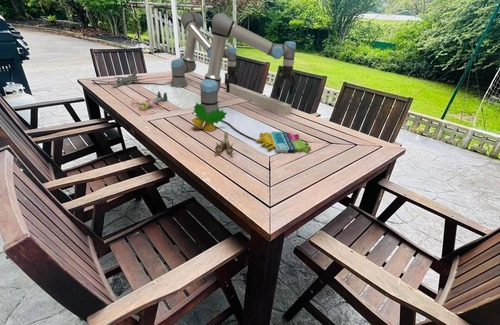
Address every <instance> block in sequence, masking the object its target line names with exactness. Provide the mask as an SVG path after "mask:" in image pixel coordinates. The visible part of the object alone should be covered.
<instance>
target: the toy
mask: <svg viewBox="0 0 500 325" xmlns="http://www.w3.org/2000/svg"><path fill="white" fill-rule="evenodd" d="M167 100H168V94H167V92H166V91H165V92H164V93H163V96H162V94H161V92H160V91H157V97H155V98H148V99H146V100H145V101H142V102H135V101H134V100H132V101H130V103H131V105H139V106H138V107H137V109H140V111H141V110H142V111H145V110H148V108H159V109H161V110H165V108H166V107H165V106H163V104H161V105H157V104H158V103H159V102H160V101H163V102H166V101H167Z"/></svg>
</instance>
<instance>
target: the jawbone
mask: <svg viewBox="0 0 500 325" xmlns="http://www.w3.org/2000/svg"><path fill="white" fill-rule="evenodd" d="M223 135H224V136H223V140H222V139H221V142H220V144H218V142H215V144H216V146H215V148H214V149H215V152H214V154H215V155H217V156H218V155H220V153H221V152H223V151H224V150H226V152H227V153H228V155H229V156H233V155H234V154H233V153H234V148H233V144H234V143H230V140H228V139H229V138H228V137H229V136H228V135H229V133H228V131H226V132H224V134H223Z"/></svg>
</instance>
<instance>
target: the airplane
mask: <svg viewBox="0 0 500 325" xmlns="http://www.w3.org/2000/svg"><path fill="white" fill-rule="evenodd" d="M127 76H128V77H127ZM127 76H126V77H122V76H113V78H117V79H116V84H112V86H111V87H110V89H111V88H118V87H120V86H123V85H131V84H130V83H139V81H145V79H143V78H142V77H143V75H142V76H141V75H137V68H134V70H133V72H132V74H128V75H127Z"/></svg>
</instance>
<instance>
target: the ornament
mask: <svg viewBox="0 0 500 325" xmlns="http://www.w3.org/2000/svg"><path fill="white" fill-rule="evenodd" d="M219 110H220V108H219V109H217V110H216V111H214V110H212V112H211V113H208V112H206V109H204V106H201V103H198V102H195V105H194V106H193V112H194V113H195V118H192V119H191V122H192V123H193V125H195V127H197V128H198V129H202V130H203V131H206V132H212V131H213V132H214V131H215V130H216V126H215V124H218V123H219V122H222V120H223V119H226V115H227V114H228V113H227V112H224V110H223V109H221V110H220V111H219ZM207 113H208V115H207ZM214 123H215V124H214ZM222 123H223V122H222Z"/></svg>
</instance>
